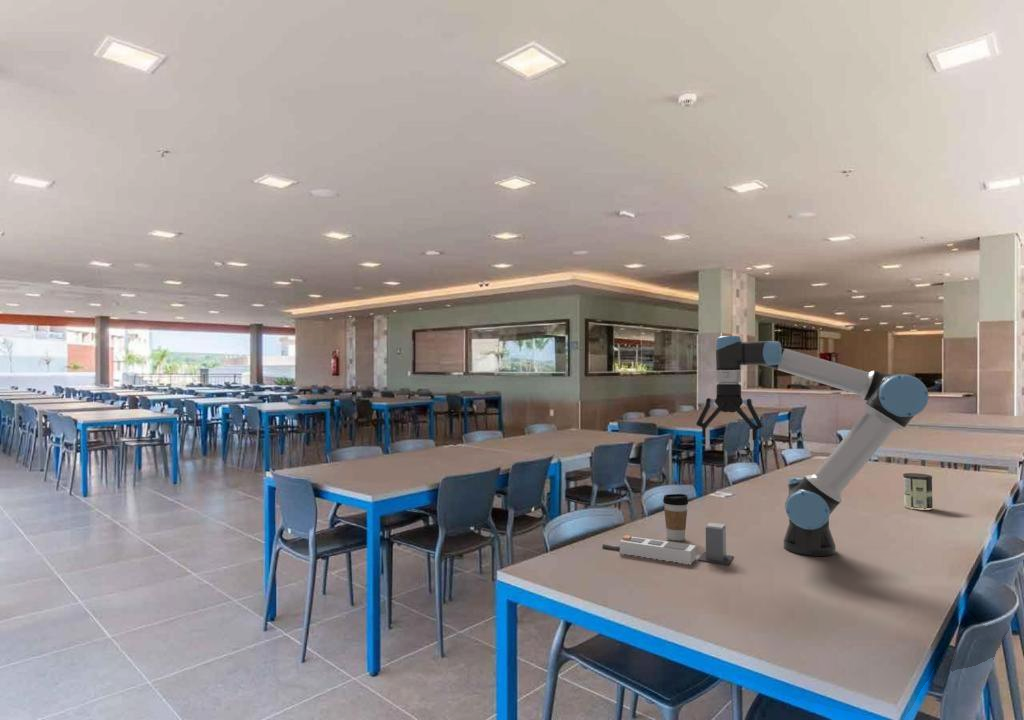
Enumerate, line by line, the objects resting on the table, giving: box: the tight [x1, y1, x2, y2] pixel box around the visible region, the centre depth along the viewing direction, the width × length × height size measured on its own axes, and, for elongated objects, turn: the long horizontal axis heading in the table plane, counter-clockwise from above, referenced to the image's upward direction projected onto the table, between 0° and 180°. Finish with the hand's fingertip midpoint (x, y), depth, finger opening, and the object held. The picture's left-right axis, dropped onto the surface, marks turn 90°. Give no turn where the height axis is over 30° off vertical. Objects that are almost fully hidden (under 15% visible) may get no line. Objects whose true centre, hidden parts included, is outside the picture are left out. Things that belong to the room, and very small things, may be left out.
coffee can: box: [902, 472, 933, 509], centre depth 251 cm, size 10×10×14 cm
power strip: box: [602, 534, 697, 566], centre depth 186 cm, size 29×7×5 cm, turn 60°
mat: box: [697, 551, 735, 566], centre depth 182 cm, size 9×9×1 cm
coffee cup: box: [662, 493, 689, 541], centre depth 205 cm, size 8×8×15 cm
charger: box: [705, 522, 727, 561], centre depth 182 cm, size 5×5×10 cm
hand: (729, 449), depth 191 cm, fingers open, 13 cm apart
